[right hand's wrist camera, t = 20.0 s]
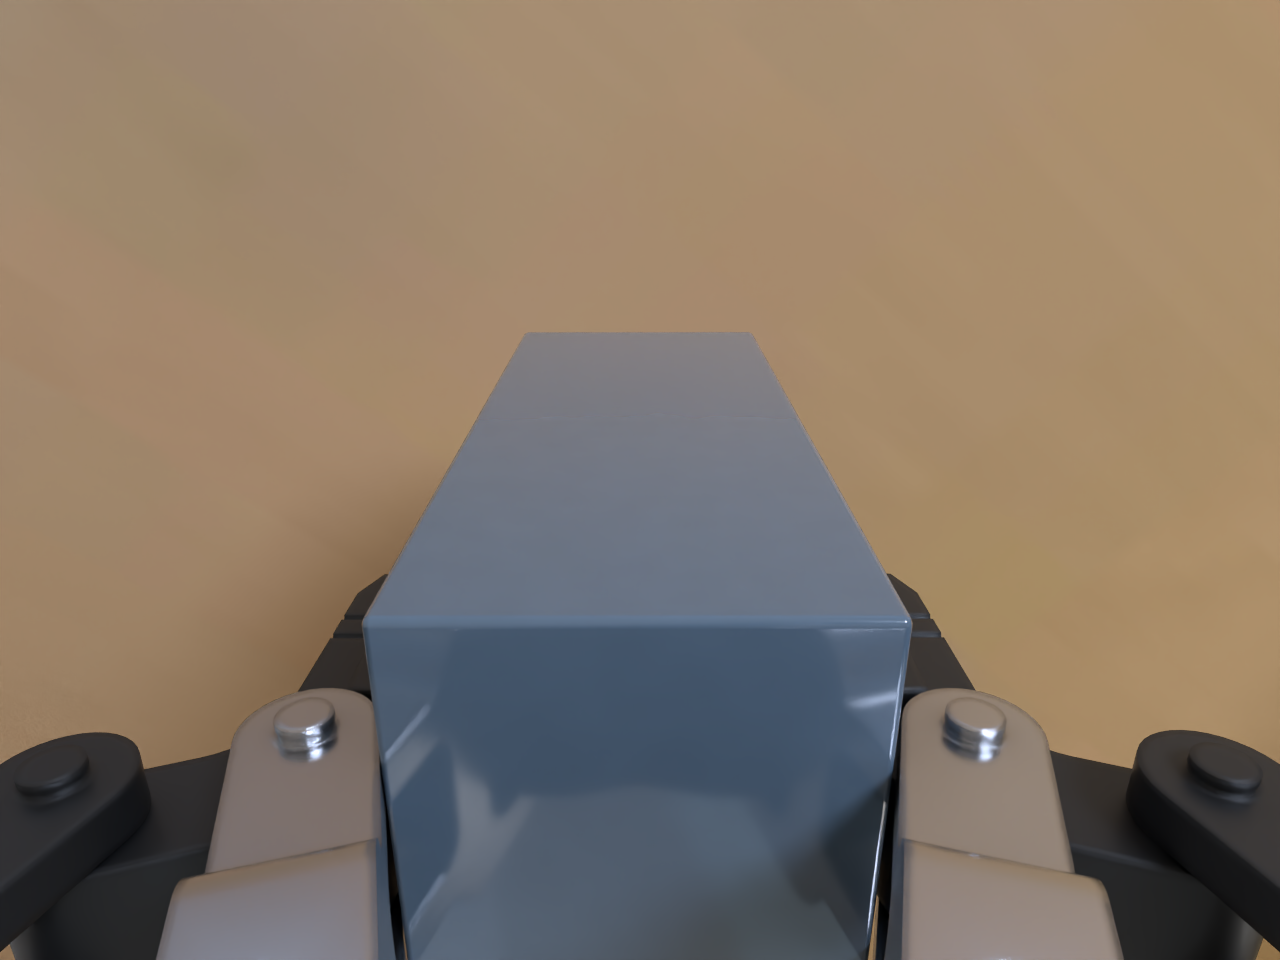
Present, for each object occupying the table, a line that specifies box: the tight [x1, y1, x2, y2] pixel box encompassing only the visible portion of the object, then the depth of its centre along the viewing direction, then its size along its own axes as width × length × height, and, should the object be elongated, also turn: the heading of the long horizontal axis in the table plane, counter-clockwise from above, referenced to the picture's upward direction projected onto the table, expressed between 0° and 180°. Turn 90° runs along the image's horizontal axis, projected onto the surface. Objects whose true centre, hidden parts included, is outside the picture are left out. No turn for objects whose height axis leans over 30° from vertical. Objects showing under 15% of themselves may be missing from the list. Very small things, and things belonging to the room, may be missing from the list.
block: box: [362, 332, 913, 960], centre depth 12 cm, size 4×5×10 cm
